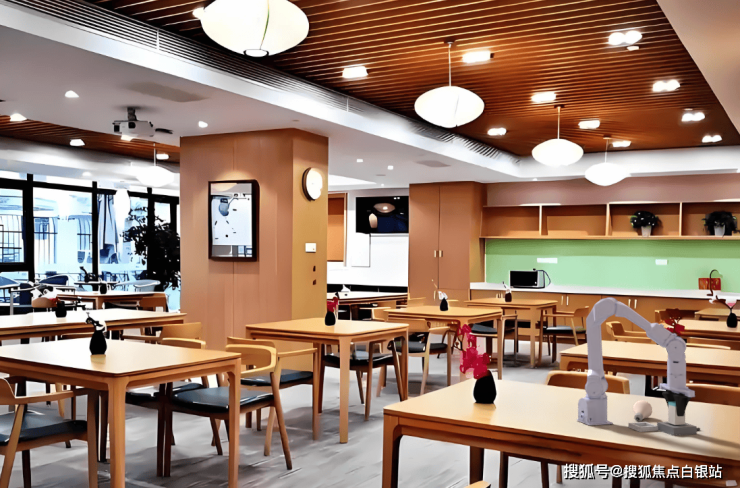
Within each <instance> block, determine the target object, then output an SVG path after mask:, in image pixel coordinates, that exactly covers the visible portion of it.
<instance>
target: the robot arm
mask: <svg viewBox="0 0 740 488" xmlns="http://www.w3.org/2000/svg"><path fill="white" fill-rule="evenodd" d="M612 316H614V317H616V318H617V317H618V318H625V319H627V320H628V321H630V322H631V323H633V324H634V325H636V326H638V327H639V328H640V329H642V330H643V331H645V334H646V337H647V338H648V339H650V340H652V341H653V342H654V343H656V344H657V345H659V346H660V347H662V348H664V349H666V350H665V351H666V352H667V360H666V362H667V363H666V364H667V365H666V370H667V371H666V376H667V377H666V383H659V390H661V391H663V392H661V393H662V396H663V398H664V400H665V402H666V405H667V407H668V402H673V401H675V403H676V410H677V416H684V414H685V415H686V410H687V406H688V405H689V402H690V400H691V399H692V398H695V397H696V395H695V394H696V393H695V392H696V391H695V390H693V389H690V388H689V386H687V361H686V358H687V357H686V350H687V343H686V341H685V340H684V339H683V338H682V337H681V336H678V334H677V333H675V332H671V331H670V330H668V329H667V328H665V324H663V323H660V324H659V323H658V322H652V323H651V322H650V321H649V320H647V319H646V318H644V316H642V315H640V314H639V313H638V312H636V311H635V310H634V309H633V308H631V307H630V306H629V305H626V304H625V303H623V302H621V301H620V300H619V301H618V300H617V298H614V297H606V298H601V299H599V301H597V302H596V303H594V305H593V307H592V308H591V311H590V312H589V313H588V315H587V316H586V319H585V324H586V325H585V326H586V342H587V344H586V345H587V365H588V369H587V370H588V371H587V376H586V383H585V385H584V391H585V392H586V394H585V397H581V398H579V400H578V402H577V418H576V421H577V422H580V423H582V424H584V425H588V426H600V425H613V422H612V421H609V420H608V395H607V394H606V391H607V390H609V389H608V388H609V384H608V381H607V379H606V376H605V374H606V373H605V371H604V363H603V361H604V358H603V342H602V341H603V340H602V338H603V337H602V324H603V323H604V322H605V321H607V319H608V318H609V317H612Z"/></svg>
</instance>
